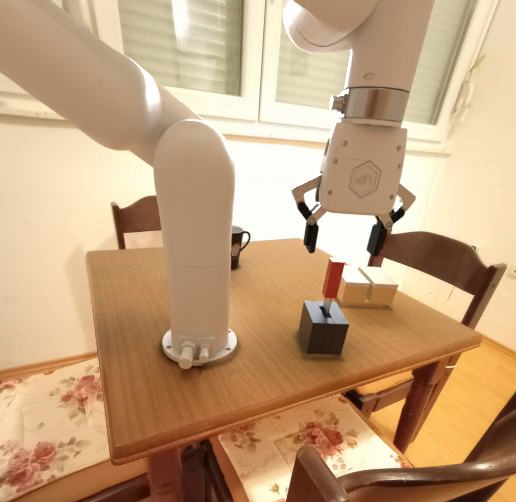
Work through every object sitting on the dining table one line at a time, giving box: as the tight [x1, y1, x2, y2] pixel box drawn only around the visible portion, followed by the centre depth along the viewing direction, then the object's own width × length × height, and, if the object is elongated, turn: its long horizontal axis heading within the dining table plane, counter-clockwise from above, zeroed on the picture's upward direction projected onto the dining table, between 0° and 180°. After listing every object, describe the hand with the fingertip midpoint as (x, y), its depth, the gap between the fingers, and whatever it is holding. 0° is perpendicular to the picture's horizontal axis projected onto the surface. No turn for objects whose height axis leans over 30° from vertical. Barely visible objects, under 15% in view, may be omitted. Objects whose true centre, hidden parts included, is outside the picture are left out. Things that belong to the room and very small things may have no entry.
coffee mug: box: [231, 224, 252, 271], centre depth 85 cm, size 12×9×10 cm
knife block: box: [298, 300, 350, 356], centre depth 55 cm, size 8×6×7 cm
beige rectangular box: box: [337, 264, 399, 309], centre depth 75 cm, size 11×12×6 cm
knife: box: [321, 257, 346, 318], centre depth 52 cm, size 3×2×15 cm, turn 3°
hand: (341, 252), depth 47 cm, fingers open, 9 cm apart
